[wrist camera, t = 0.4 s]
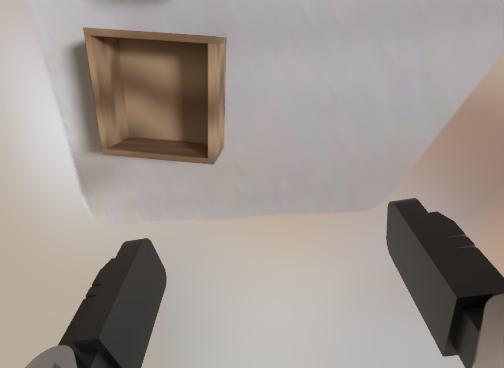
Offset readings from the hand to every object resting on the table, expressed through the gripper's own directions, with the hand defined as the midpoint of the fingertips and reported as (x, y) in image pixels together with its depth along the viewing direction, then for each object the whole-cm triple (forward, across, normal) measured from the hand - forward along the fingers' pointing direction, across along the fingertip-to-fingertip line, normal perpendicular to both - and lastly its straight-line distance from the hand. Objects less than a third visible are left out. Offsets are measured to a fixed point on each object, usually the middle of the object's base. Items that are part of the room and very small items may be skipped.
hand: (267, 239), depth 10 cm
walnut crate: (+27, +10, 0) cm, 29 cm away
